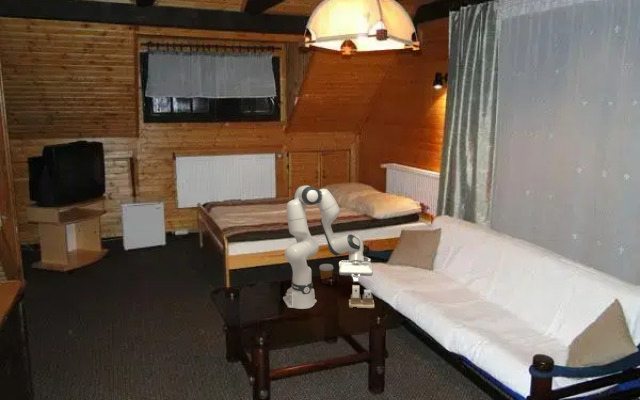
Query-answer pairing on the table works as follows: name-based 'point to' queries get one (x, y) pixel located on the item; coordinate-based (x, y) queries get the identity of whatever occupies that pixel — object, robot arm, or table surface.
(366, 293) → the key two
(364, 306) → the key console
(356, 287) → the key one
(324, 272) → the disposable coffee cup
